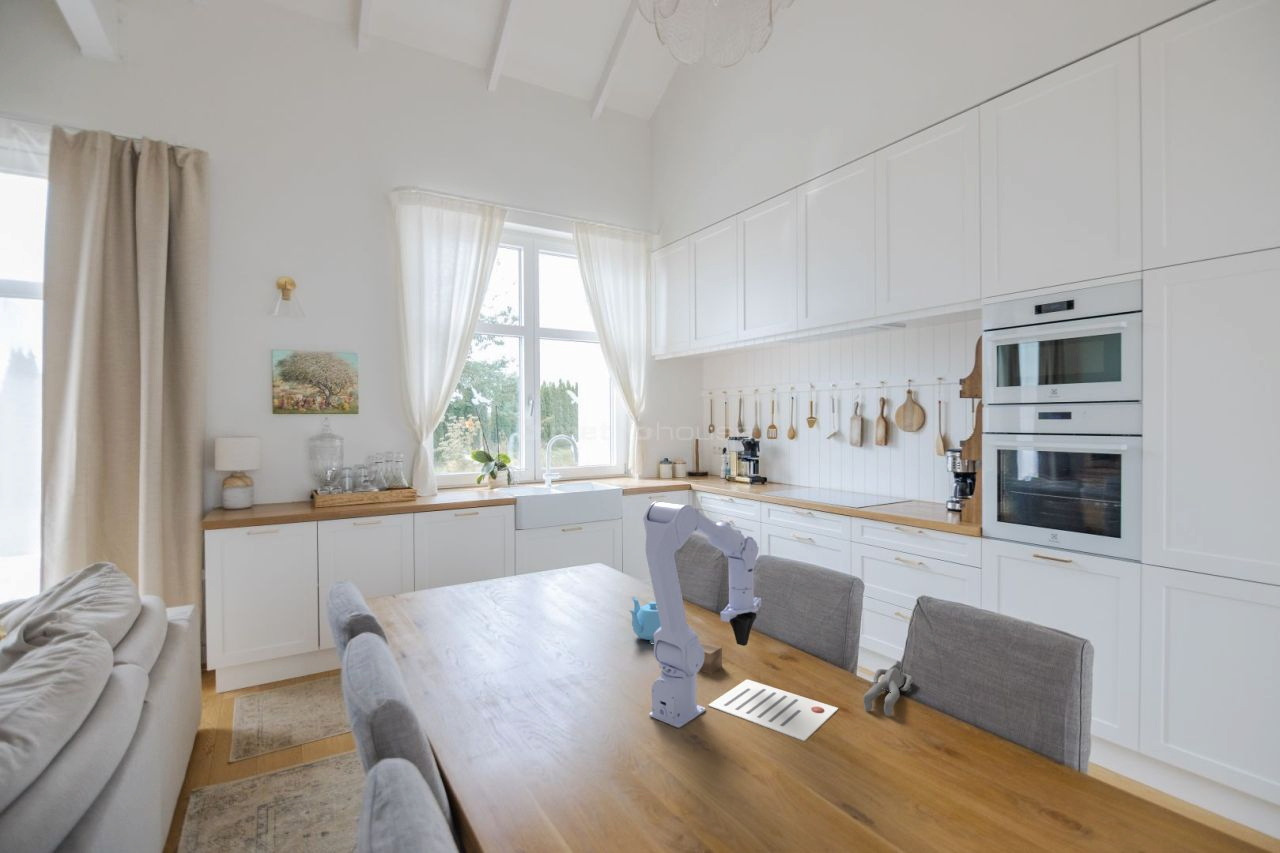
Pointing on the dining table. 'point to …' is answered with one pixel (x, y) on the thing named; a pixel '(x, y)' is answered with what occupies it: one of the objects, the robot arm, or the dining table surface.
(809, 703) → the white card
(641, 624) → the teapot
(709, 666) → the walnut cube
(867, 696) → the alien figure
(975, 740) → the dining table surface
